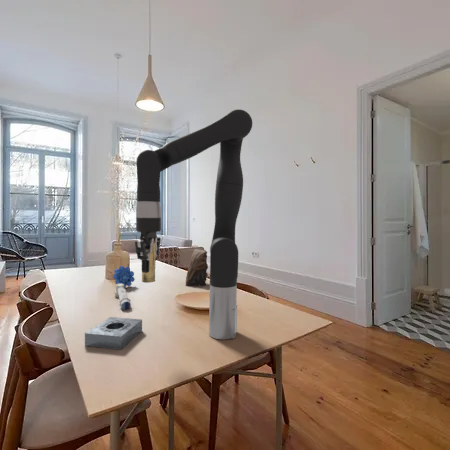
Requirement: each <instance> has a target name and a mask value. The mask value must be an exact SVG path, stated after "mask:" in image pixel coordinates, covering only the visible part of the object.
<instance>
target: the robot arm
mask: <svg viewBox="0 0 450 450" xmlns="http://www.w3.org/2000/svg"><path fill="white" fill-rule="evenodd" d="M252 128H253V118H252V116H251V115H250V114H249V113H248V112H247V110H244V109H238V108H237V109H234V110H231V111H230V112H229V113H227V114H226V115H225V116H223V117H222V118H220V119H218V120H217V121H215V122H213V123H211V124H209V125H207V126H205V127H203V128H201V129H197V130H196V131H193V132H190V133H187V134H186V135H183V136H180V137H178V138H175V139H172V140H171V141H168V142H166V143H165V144H164V145H163V146H162V147H160V148H158V149H155V150H151V149H144V150H142V151H141V152H140V153H139V154H138V155H137V157H136V174H137V175H136V177H137V189H136V207H135V220H136V221H135V222H136V223H135V229H136V232H138V233H140V236H139V240H135V241H134V245H135V250H136V251H135V252H136V256H137V260H140V261H141V273H142V272H143V273H148V272H149V258H150V253H151V252H152V245H153V243H155V259H156V258H157V257H158V256H159V254H160V246H161V240H162V239H161V237H158V235H157V233H158V232H161V231H162V207H161V186H160V182H161V180H160V179H161V172H163V171H165V170H166V169H169V168H170V167H172V166H175V165H177V164H179V163H182V162H184V161H187V160H189V159H191V158H193V157H195V156H197V155H199V154H201V153H203V152H204V151H207V150H208V149H210V148H211V147H214V146H215V145H218V144H219V146H220V147H219V149H220V150H219V151H220V152H219V159H218V160H219V161H218V167H217V175H216V182H215V193H214V227H213V228H214V229H213V233H212V238H211V244H210V247H209V254H210V257H209V259H210V261H209V264H210V265H209V303H208V304H209V307H208V308H209V309H208V310H209V311H208V313H209V314H208V315H209V316H208V317H209V318H208V319H209V320H208V323H209V324H208V334H209V336H210V337H211V338H213V339H215V340H230V339H235V338H236V335H237V331H238V304H237V298H238V297H237V293H238V292H237V291H238V288H237V285H238V277H239V248H238V245H237V244H236V224H237V219H238V216H239V212H240V209H241V205H242V199H243V192H244V190H243V189H244V175H243V170H242V169H243V168H242V163H241V153H242V147H243V146H242V145H243V140H244V138H246V137H247V136H248V135H249V134H250V133H251V130H252ZM146 249H148V250H146ZM146 253H147V254H146Z"/></svg>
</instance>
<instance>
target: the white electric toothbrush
mask: <svg viewBox="0 0 450 450" xmlns="http://www.w3.org/2000/svg"><path fill="white" fill-rule="evenodd" d="M113 291H114V297H115V298H118V300H119V306H120V307H121V309H122V311H127V310H129V309H130V308H131V299H130V298H129V296H128V294H127V293H126V292H127V289H126V288H125V287H124V285H123V284H121V283H120V284H116V286H115V289H114V290H113Z"/></svg>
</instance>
